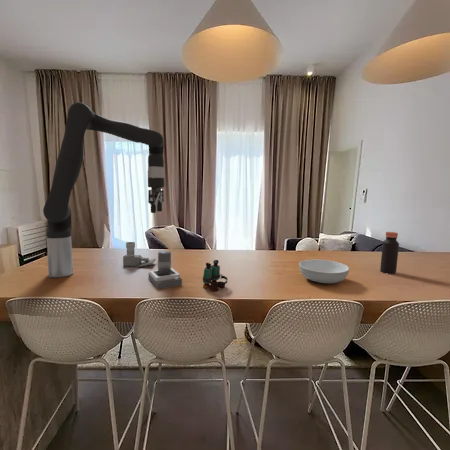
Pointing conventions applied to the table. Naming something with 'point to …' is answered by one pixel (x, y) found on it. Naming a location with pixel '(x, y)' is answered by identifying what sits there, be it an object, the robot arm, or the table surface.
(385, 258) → the bottle
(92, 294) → the table surface
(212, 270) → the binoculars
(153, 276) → the plate
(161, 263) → the lens
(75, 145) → the robot arm
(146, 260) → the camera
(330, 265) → the serving bowl
